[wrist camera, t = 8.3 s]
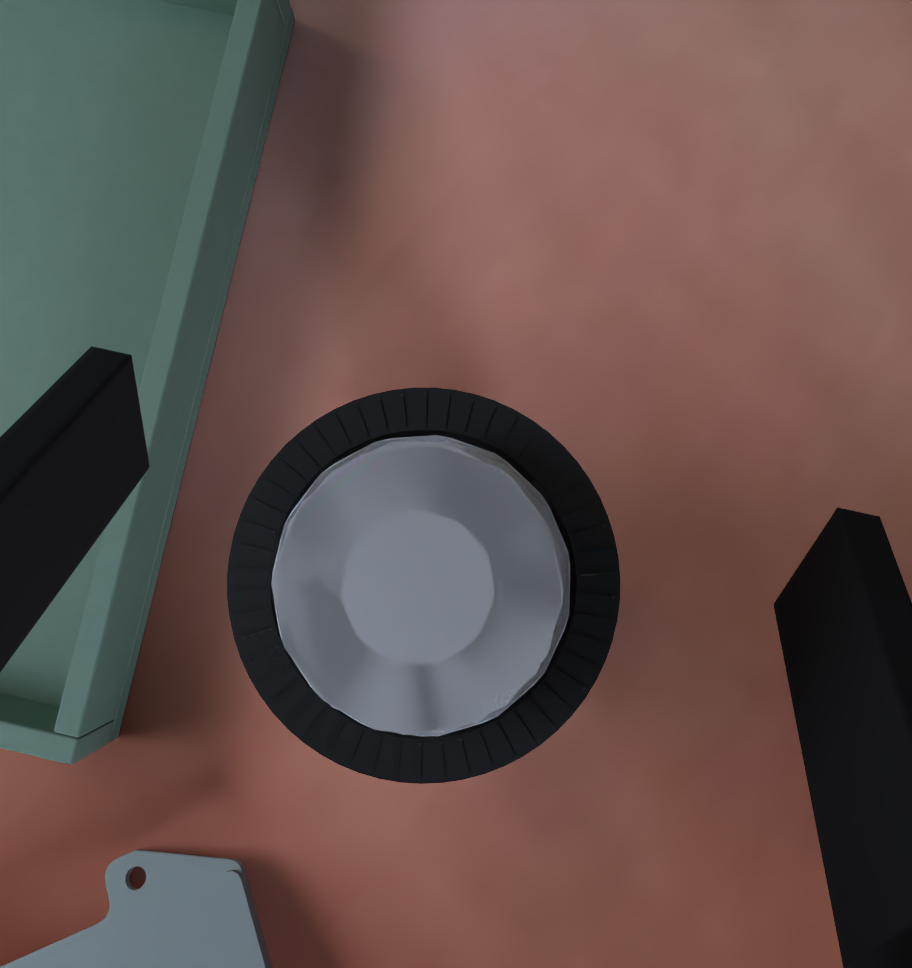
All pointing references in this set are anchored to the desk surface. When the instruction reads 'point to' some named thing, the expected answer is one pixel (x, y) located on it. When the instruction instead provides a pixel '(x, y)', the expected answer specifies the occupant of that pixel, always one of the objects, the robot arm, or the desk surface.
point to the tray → (120, 285)
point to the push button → (423, 585)
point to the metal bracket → (167, 919)
